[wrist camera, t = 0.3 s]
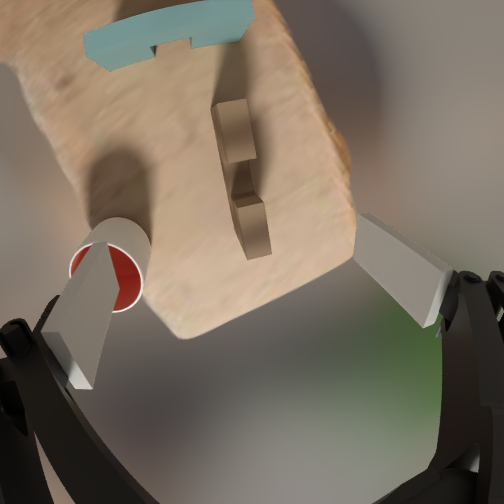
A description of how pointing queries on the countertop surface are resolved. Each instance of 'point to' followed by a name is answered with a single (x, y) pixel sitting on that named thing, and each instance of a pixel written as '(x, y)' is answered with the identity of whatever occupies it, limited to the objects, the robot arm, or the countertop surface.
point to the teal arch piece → (168, 30)
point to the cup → (121, 257)
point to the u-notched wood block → (241, 176)
